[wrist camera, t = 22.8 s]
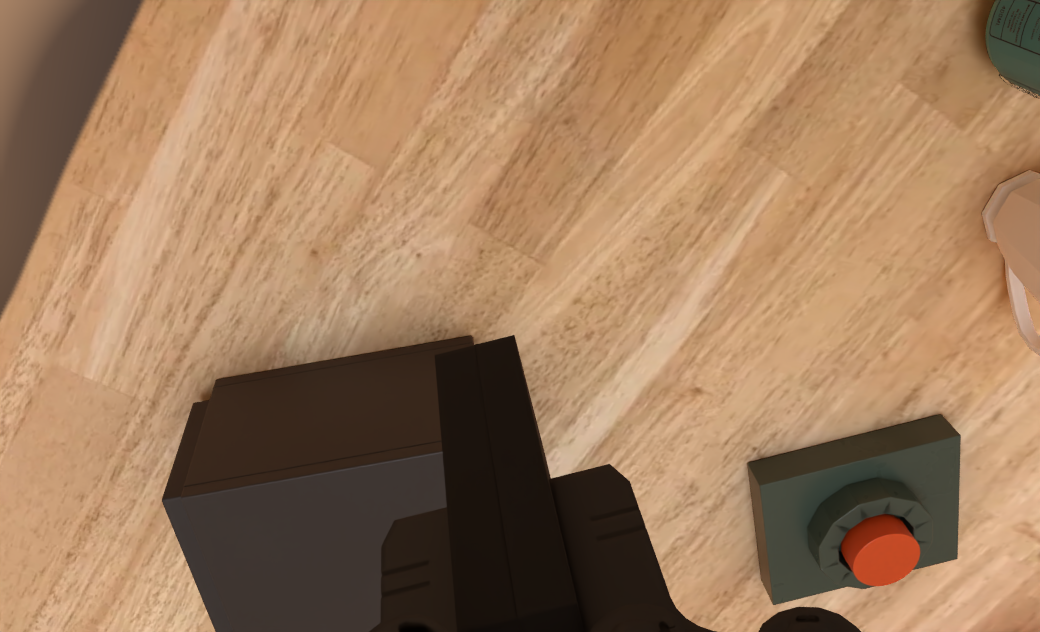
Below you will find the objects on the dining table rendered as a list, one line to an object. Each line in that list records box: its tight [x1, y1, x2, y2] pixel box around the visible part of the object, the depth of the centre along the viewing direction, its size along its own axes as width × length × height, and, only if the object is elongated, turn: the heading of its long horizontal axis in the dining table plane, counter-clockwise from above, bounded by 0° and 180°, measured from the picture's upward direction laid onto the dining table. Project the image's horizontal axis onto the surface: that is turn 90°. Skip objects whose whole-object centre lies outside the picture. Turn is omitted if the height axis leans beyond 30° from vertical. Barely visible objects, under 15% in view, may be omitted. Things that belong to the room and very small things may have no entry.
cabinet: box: [181, 336, 474, 632], centre depth 48 cm, size 14×12×10 cm
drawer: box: [162, 400, 234, 632], centre depth 48 cm, size 14×10×8 cm
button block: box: [748, 414, 961, 605], centre depth 57 cm, size 12×10×4 cm
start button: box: [841, 514, 920, 586], centre depth 55 cm, size 4×4×2 cm
